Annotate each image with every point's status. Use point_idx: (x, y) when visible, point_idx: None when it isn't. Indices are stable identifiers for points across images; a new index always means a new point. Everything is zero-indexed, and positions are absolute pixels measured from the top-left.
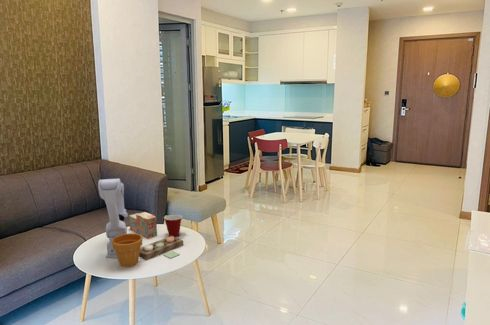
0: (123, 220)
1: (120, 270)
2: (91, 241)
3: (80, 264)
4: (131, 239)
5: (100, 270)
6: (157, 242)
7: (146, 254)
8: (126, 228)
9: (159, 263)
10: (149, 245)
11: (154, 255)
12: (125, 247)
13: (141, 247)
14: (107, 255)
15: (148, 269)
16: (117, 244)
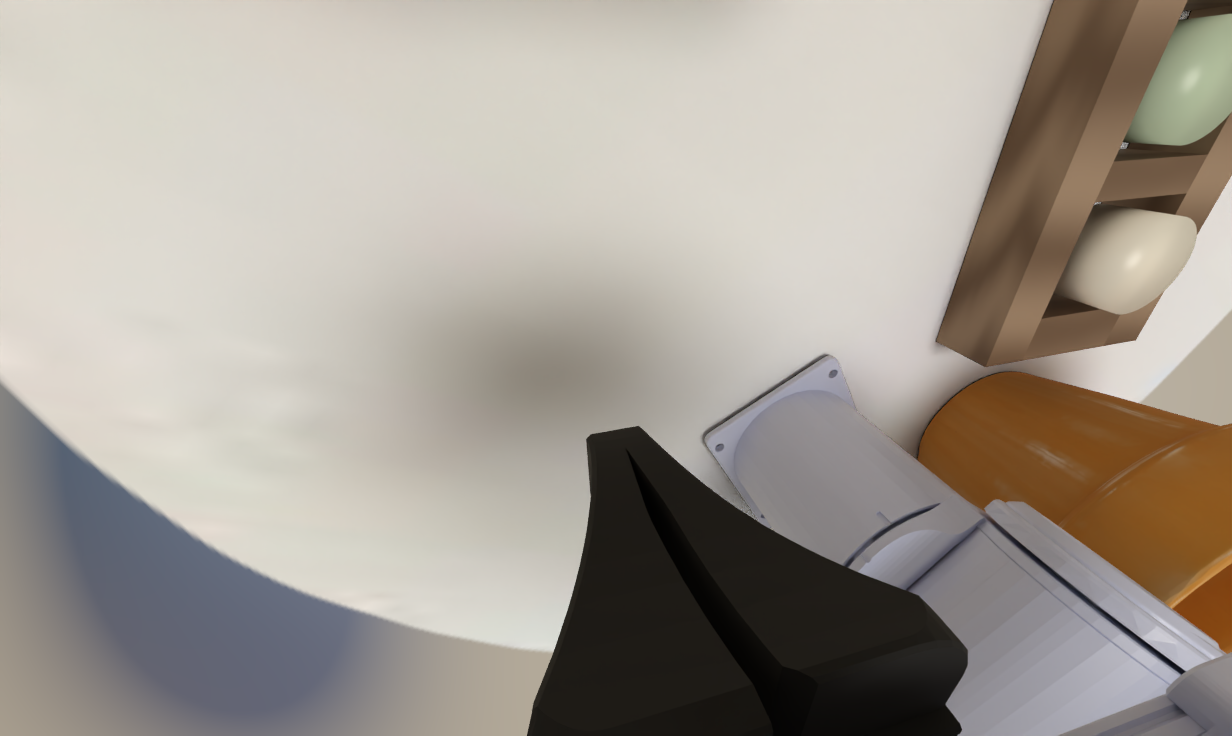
0: (736, 515)
1: None
2: (279, 562)
3: None
4: (1148, 494)
5: None
6: (1148, 54)
7: (1135, 333)
8: (1095, 558)
9: (1192, 266)
10: (1153, 248)
11: None
12: (1228, 607)
13: (1020, 297)
14: (762, 519)
15: (1143, 367)
16: None
